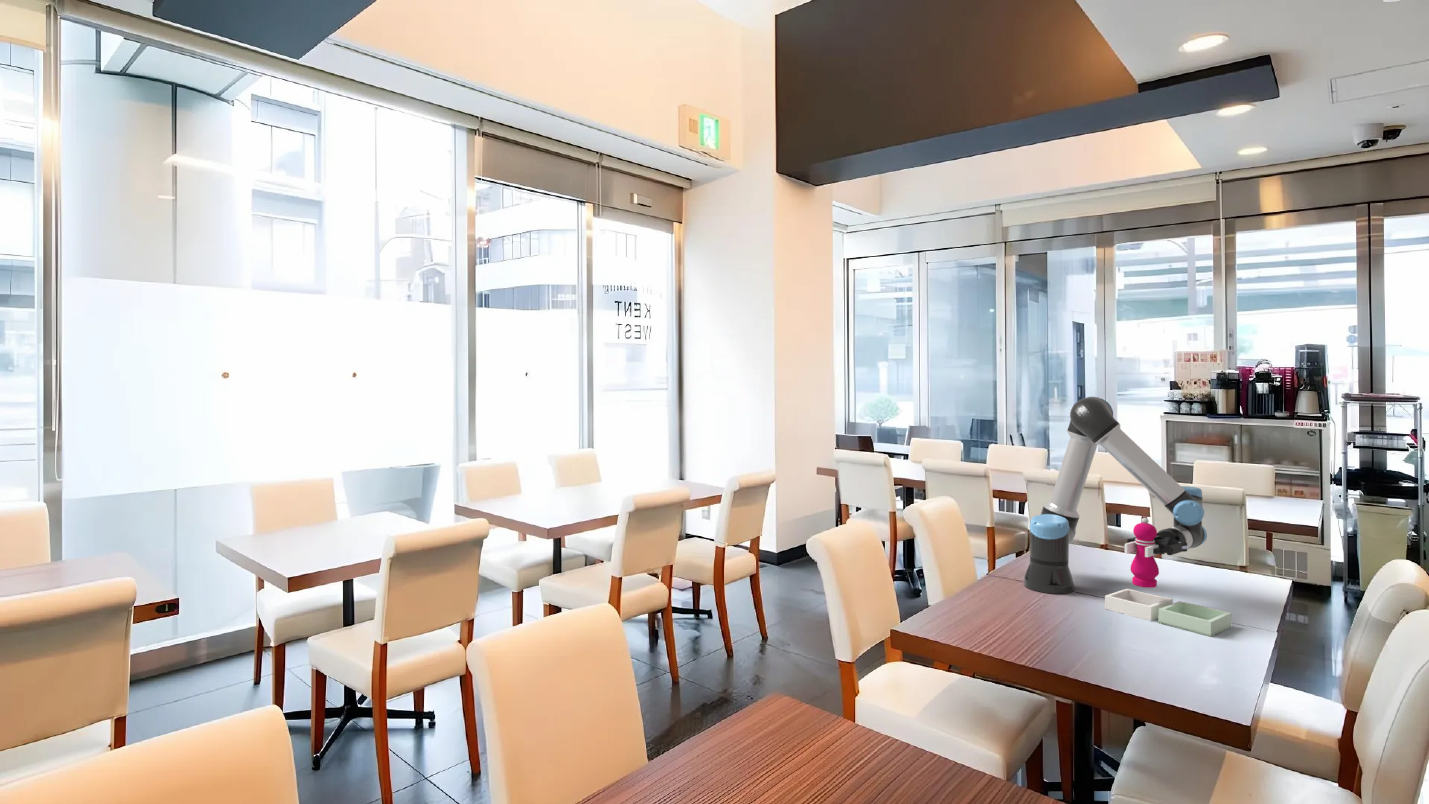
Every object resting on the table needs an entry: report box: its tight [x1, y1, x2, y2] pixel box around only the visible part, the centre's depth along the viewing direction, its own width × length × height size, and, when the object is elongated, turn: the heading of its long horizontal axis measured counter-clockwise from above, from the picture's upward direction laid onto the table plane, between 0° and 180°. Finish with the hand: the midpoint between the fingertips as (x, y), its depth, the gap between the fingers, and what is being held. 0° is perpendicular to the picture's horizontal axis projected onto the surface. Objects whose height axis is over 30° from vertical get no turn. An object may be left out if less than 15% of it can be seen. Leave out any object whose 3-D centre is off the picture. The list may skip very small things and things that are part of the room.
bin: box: [1104, 588, 1173, 622], centre depth 210 cm, size 13×13×4 cm
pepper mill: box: [1130, 517, 1160, 589], centre depth 208 cm, size 7×7×20 cm
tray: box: [1157, 600, 1232, 637], centre depth 197 cm, size 13×13×4 cm
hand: (1136, 550), depth 205 cm, fingers closed on pepper mill, 5 cm apart
